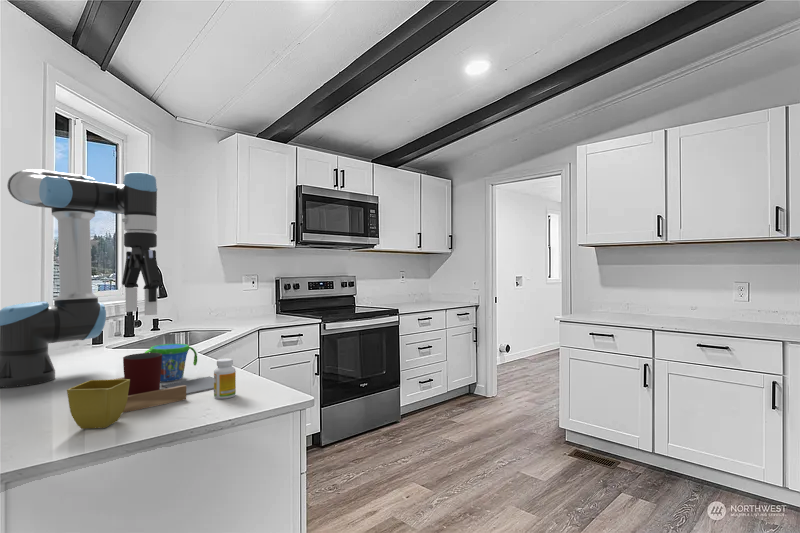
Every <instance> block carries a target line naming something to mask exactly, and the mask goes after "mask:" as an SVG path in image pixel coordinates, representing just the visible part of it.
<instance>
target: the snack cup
mask: <svg viewBox="0 0 800 533" xmlns="http://www.w3.org/2000/svg"><path fill="white" fill-rule="evenodd" d="M189 350H192V351H193V353H194V356H193V366H195V367H196V366H197V363H198V353H197V351H196V349H195V348H193V347H192V346H190V345H189V344H186V343H166V344H165V343H164V344H163V343H162V344H157V345H152V346H151V347H150V348H149V349H147V350H145V351H144V353H160V354H162V367H161V379H160V382H166V383H167V382H174V381H179V380H181V379H182V378H183V377H184V374H185V367H186V361H187V355H188V353H189Z"/></svg>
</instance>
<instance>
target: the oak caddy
mask: <svg viewBox="0 0 800 533" xmlns="http://www.w3.org/2000/svg"><path fill="white" fill-rule="evenodd" d="M117 379H124V377H117V378H112V379H109V380H117ZM185 400H187V395H186V385H182V386H177V387H171V388H161V389H160V390H155V391H150V392H145V393H140V394H134V395H129V396H128V399H127V403H126V406H125V409H124V411H123V413H129V412H133V411H138V410H142V409H148V408H151V407H157V406H161V405H166V404H172V403H176V402H180V401H185ZM123 413H122V414H123Z"/></svg>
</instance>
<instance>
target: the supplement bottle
mask: <svg viewBox="0 0 800 533" xmlns="http://www.w3.org/2000/svg"><path fill="white" fill-rule="evenodd" d="M233 365H234V359H233V358H227V357H226V358H219V359H217V360H216V368H214V370H213V378H214V389H213V398H214V399H219V400H224V399H231V398H233V397H235V396H236V394H237V390H236V385H237V384H236V382H237V381H236V373H237V372H236V368H235V367H234V366H233Z"/></svg>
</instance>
